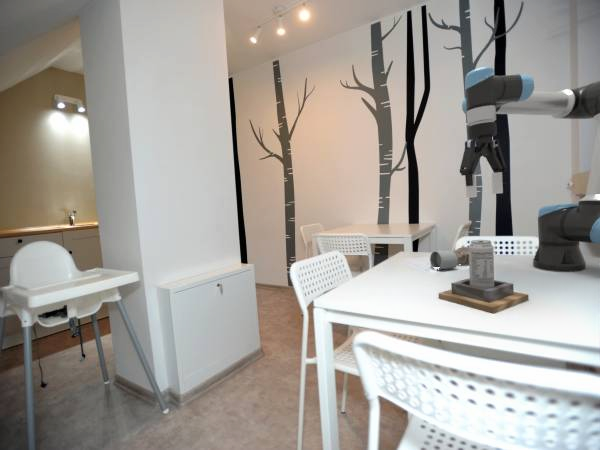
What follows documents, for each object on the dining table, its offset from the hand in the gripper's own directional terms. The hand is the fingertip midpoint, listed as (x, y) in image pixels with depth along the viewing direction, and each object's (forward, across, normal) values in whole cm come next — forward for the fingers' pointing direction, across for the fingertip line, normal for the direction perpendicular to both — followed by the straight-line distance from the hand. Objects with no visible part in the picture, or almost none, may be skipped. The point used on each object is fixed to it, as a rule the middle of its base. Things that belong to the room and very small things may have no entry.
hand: (485, 195), depth 98 cm
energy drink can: (+27, +11, +4) cm, 30 cm away
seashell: (+30, -27, -27) cm, 49 cm away
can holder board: (+28, +11, +4) cm, 31 cm away
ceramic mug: (+29, -13, -26) cm, 41 cm away
